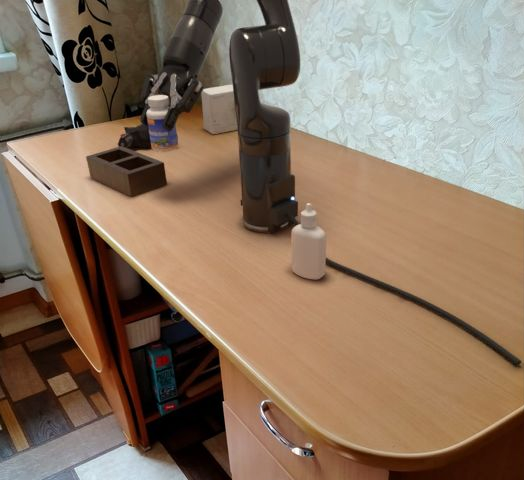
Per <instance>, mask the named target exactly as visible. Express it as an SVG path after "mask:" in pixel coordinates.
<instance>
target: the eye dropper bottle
mask: <svg viewBox="0 0 524 480" xmlns="http://www.w3.org/2000/svg"><path fill="white" fill-rule="evenodd" d="M317 216H318V213H317V211H316V210H314V209H313V206H312V203H311V202H310V203H309V202H308V203H306V204H305V209H304V210H302V211H301V212H300V223H299V225H297V226H295V225H294V227H292V229H291V243H290V245H291V246H290V247H291V252H290V253H291V271H292V272H293V273H294V274H295V275H297V276H299V277H301V278H304V279H309V280H315V281H317V280H320V279H321V278H323V277H324V276H325V275H326V264H327V263H326V258H327V235H326V232H325V230H323V229H322V228H321V227H320V226H318V225H317V224H318V222H317V221H318V217H317Z"/></svg>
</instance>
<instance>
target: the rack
mask: <svg viewBox="0 0 524 480" xmlns="http://www.w3.org/2000/svg"><path fill="white" fill-rule="evenodd" d="M85 159H86V163H87V168H88V171H89V172H88V173H89V177H90V179H92V180H95V181H96V182H99V183H101V184H103V185H105V186H107V187H109V188H111V189H114V190H115V191H118V192H120V193H122V194H124V195H126V196H128V197H131V198H133V197H137V196H139V195H142V194H145V193H147V192H150V191H152V190H156V189H159V188H161V187H164V186H167V185H168V181H167V175H166V167H165V163H164V161H161V160H159V159H156V158H154V157H151V156H149V155H146V154H142V153H140V152H138V151H135V150H133V149H130V148H125V147H122V146H120V147H119V146H116V147H113V148H110V149H106V150H103V151H100V152H96V153H93V154H89V155H87V156H85Z"/></svg>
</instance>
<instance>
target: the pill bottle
mask: <svg viewBox="0 0 524 480" xmlns="http://www.w3.org/2000/svg"><path fill="white" fill-rule="evenodd" d="M169 98H170V97H169ZM169 98H168V96H166V95H163V94H160V95H155V96H151V97H149V98H148V104H149V106H150V109H149V110H148V111H147V113H146V115H147V121H148V128H149V134H150V141H151V147H150V148H151V150H153V151H154V152H157V153H158V152H160V153H167V152H172V151H174V150H176V149H177V148H178V147H179V138H178V139H177V136H178V132H177V126H176V125H177V123H176V124H175V126H174V128H173V129H172V130H171V131H167V130H166V129H165V128H163V127H162V123H163V121H164V118H165V116H166V114H167V111H168V109H169V108H171V106H169V105H170V99H169Z"/></svg>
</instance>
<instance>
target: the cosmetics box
mask: <svg viewBox="0 0 524 480" xmlns="http://www.w3.org/2000/svg"><path fill="white" fill-rule="evenodd" d="M200 96H201V107H202V108H201V109H202V120H203V129H204V130H205V131H207V132H208V133H210V134H212V135H217V134H222V133H228V132H232V131H233V132H234V131H238V129H237V119H236V113H235V105H234V93H233V84H232V83H231V84H226V85H219V86H213V87H207V88H204V89H203V91H202V92H201V94H200Z"/></svg>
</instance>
